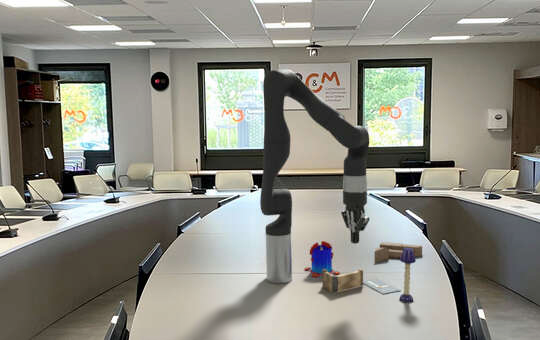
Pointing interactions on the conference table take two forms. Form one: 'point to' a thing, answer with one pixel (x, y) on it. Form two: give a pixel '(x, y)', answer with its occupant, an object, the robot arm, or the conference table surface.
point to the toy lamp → (407, 273)
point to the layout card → (380, 286)
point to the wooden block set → (394, 250)
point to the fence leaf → (347, 281)
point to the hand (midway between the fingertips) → (354, 242)
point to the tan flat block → (327, 280)
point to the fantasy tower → (321, 259)
